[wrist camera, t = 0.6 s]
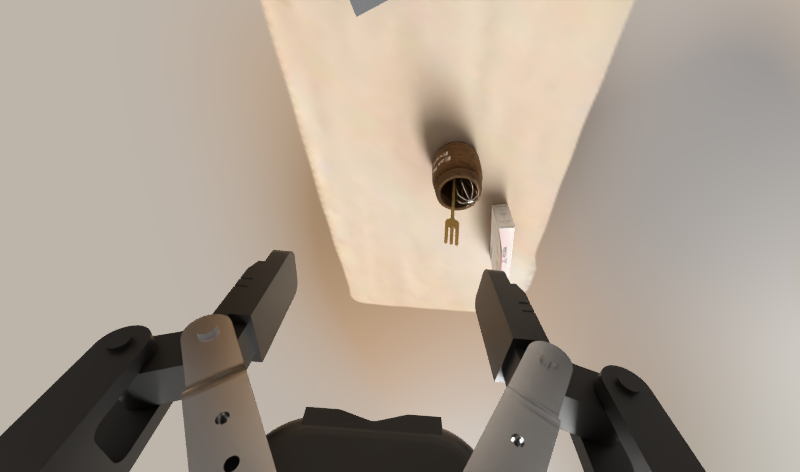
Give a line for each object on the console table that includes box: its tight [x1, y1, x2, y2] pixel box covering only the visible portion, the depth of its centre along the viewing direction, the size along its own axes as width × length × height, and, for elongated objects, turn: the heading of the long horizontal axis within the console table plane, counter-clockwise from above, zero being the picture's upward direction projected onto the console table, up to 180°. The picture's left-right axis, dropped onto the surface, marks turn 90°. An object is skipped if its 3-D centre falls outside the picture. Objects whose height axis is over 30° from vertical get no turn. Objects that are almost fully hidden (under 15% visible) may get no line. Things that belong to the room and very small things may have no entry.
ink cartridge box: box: [490, 204, 515, 278], centre depth 42 cm, size 2×11×10 cm, turn 10°
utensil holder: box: [432, 142, 482, 246], centre depth 34 cm, size 6×6×12 cm
